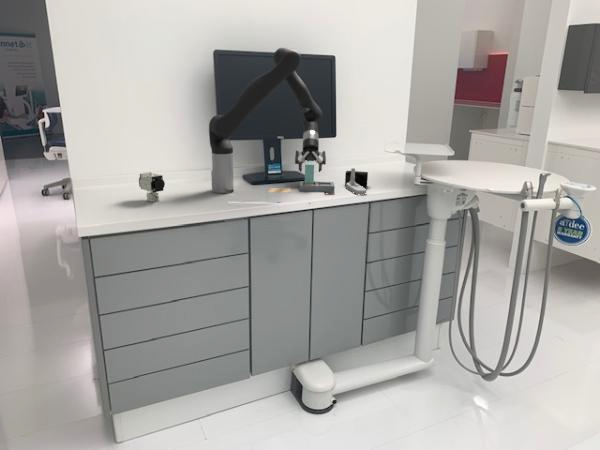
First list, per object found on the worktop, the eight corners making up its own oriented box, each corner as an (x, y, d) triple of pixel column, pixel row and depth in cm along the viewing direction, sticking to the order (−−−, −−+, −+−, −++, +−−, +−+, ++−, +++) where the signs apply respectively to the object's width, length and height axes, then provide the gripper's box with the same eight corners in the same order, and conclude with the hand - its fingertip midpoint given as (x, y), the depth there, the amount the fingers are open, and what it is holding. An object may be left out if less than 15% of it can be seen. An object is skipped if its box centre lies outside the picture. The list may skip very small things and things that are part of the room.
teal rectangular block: (304, 190, 216) (305, 164, 213) (304, 188, 220) (305, 163, 217) (313, 191, 216) (314, 164, 213) (313, 189, 220) (313, 163, 217)
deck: (267, 194, 211) (267, 192, 211) (268, 190, 219) (268, 188, 218) (289, 194, 211) (289, 192, 211) (290, 190, 218) (290, 188, 218)
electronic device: (358, 175, 210) (345, 167, 223) (356, 196, 213) (344, 188, 226) (369, 174, 211) (356, 167, 225) (367, 196, 214) (354, 187, 228)
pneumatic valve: (149, 197, 201) (147, 169, 198) (166, 202, 194) (164, 173, 191) (138, 199, 197) (135, 171, 194) (154, 204, 190) (152, 175, 187)
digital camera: (344, 187, 228) (345, 172, 226) (345, 184, 234) (346, 170, 231) (366, 188, 226) (367, 173, 224) (367, 186, 231) (368, 171, 229)
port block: (299, 193, 214) (299, 184, 213) (299, 188, 223) (300, 180, 222) (334, 193, 214) (334, 185, 213) (333, 189, 223) (333, 181, 222)
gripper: (295, 137, 223) (294, 166, 216) (326, 137, 223) (326, 166, 215) (295, 146, 230) (294, 175, 222) (325, 147, 230) (325, 175, 222)
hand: (310, 170), depth 219 cm, fingers open, 8 cm apart
